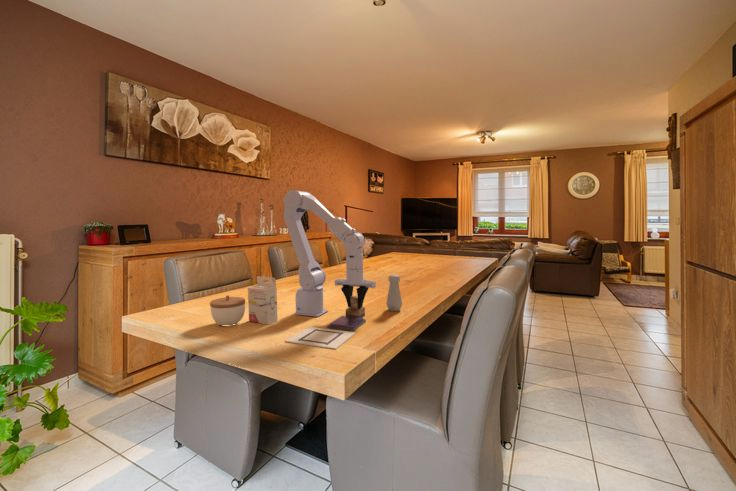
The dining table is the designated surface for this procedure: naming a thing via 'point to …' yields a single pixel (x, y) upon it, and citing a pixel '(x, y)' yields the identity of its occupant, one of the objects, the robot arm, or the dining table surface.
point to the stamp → (355, 309)
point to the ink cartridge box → (263, 301)
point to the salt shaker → (394, 294)
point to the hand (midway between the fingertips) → (355, 307)
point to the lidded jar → (228, 310)
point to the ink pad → (346, 323)
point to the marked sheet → (321, 337)
